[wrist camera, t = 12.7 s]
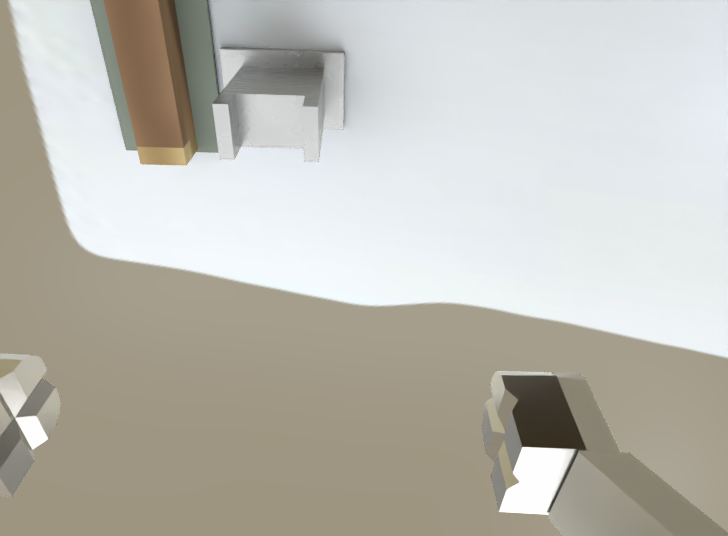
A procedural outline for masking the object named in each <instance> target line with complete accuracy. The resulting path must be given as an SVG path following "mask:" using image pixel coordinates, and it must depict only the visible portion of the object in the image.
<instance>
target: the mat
mask: <svg viewBox="0 0 728 536" xmlns="http://www.w3.org/2000/svg"><path fill="white" fill-rule="evenodd" d="M90 2H91V6H92V10H93V15H94V19H95V23H96V27H97V31H98V35H99V39H100V44H101V48H102V52H103V56H104V60H105V64H106V68H107V73H108V77H109V81H110V85H111V89H112V93H113V97H114V102H115V106H116V110H117V114H118V118H119V122H120V127H121V131H122V135H123V139H124V143H125V147H126V150H137V145H136V141H135V137H134V132H133V128H132V123H131V119H130V115H129V110H128V106H127V101H126V97H125V93H124V88H123V84H122V80H121V75H120V71H119V66H118V62H117V58H116V53H115V49H114V44H113V40H112V36H111V31H110V27H109V22H108V18H107V14H106V9H105V5H104V1H103V0H90ZM175 7H176V13H177V19H178V26H179V32H180V39H181V45H182V51H183V58H184V64H185V70H186V77H187V83H188V90H189V96H190V102H191V109H192V115H193V122H194V128H195V134H196V141H197V147H198V149H197V151H196V152H217V153H219V151H218V144H217V136H216V129H215V121H214V113H213V106H212V103H213V102H214V101H215V99H216V98H217V97H218V96H219V88H218V80H217V72H216V64H215V56H214V48H213V40H212V31H211V23H210V15H209V7H208V0H175Z"/></svg>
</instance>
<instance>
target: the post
mask: <svg viewBox="0 0 728 536" xmlns="http://www.w3.org/2000/svg"><path fill="white" fill-rule="evenodd" d="M219 51H220V60H221V68H222V77H223V85H224V89H223V91H222V92H221V93H220V94H219V96H218V97H217V98H216V99H215V101H214V102H213V103H212V106H213V113H214V121H215V129H216V136H217V144H218V151H219V159H226V160H234V159H235V157H236V155H237V153H238V151H239V149H240V147H278V148H304V161H305V162H319V156H320V148H321V140H322V132H323V129H336V130H343V117H344V52H336V51H307V50H279V49H250V48H220V49H219Z"/></svg>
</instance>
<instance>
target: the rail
mask: <svg viewBox="0 0 728 536" xmlns="http://www.w3.org/2000/svg"><path fill="white" fill-rule="evenodd" d="M103 1H104V5H105V9H106V14H107V18H108V22H109V27H110V31H111V36H112V40H113V44H114V49H115V53H116V58H117V62H118V66H119V71H120V75H121V80H122V84H123V88H124V93H125V97H126V101H127V106H128V110H129V115H130V119H131V123H132V128H133V132H134V137H135V141H136V145H137V150H138V154H139V159H140V163H141V164H154V165H187V164H188V162H189V161H190V160H191V158H192V157H193V155H194V154H195V152H196V151H197V149H198V147H197V141H196V134H195V128H194V122H193V115H192V109H191V102H190V96H189V90H188V83H187V77H186V70H185V64H184V58H183V51H182V45H181V39H180V32H179V26H178V19H177V13H176V7H175V0H103Z"/></svg>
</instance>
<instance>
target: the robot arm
mask: <svg viewBox="0 0 728 536" xmlns="http://www.w3.org/2000/svg"><path fill="white" fill-rule="evenodd" d="M46 372H47V368H46V366H45V365H44V363H43V361H42V359H41V357H38V356H33V355H22V354H21V355H20V354H5V353H0V496H13V494H14V493H15V491H16V490H17V488H18V486H19V485H20V483H21V482H22V480H23V478H24V477H25V475H26V474H27V472H28V470H29V469H30V467H31V466H32V464H33V462H34V456H33V449H34V448H35V447H37V446H38V445H40V444H41V443H43V442H44V441H46V440H47V439H48V438H49V437H50V435H51V433H52V431H53V430H54V428H55V426H56V425H57V421H58V417H59V412H60V408H61V407H60V396H59V394H58V392H57V390H56V387H55V386H53V385H52V384H50V383H49V382H48V381H46V380H45V379H43V377H44V375H45V373H46ZM490 387H491V391H492V395H493V397H491V398H490V399H489V400H487V401H486V402H485V407H484V411H483V419H482V420H483V421H482V433H483V441H484V446H485V451H486V454H487V455H488V456H489V457H490V458H491V459H492V460H493V461H494V462H495V465H494V467H493V471H492V474H491V479H492V483H493V487H494V492H495V496H496V501H497V505H498V509H499V512H514V513H531V514H532V513H533V514H548V518H549V520H550V521H551V522H552V523H553V524H554V526H555V527H556V528H557V529H558V530H559V532H560V533H561V534H562V535H563V536H728V533H727V532H726V531H725V530H724V529H723V528H721V527H720V526H719V525H718V524H717V523H715V522H714V521H713V520H712V519H710V518H709V517H708V516H707V515H705V514H704V513H703V512H702V511H701V510H699V509H698V508H697V507H696V506H694V505H693V504H692V503H691V502H690V501H688V500H687V499H686V498H685V497H684V496H682V495H681V494H680V493H679V492H677V491H676V490H675V489H674V488H672V487H671V486H670V485H669V484H668V483H666V482H665V481H664V480H663V479H662V478H660V477H659V476H658V475H657V474H655V473H654V472H653V471H652V470H650V469H649V468H648V467H647V466H646V465H644V464H643V463H642V462H641V461H640V460H638V459H637V458H636V457H635V456H634V455H632V454H631V453H628V452H621V451H620V449H619V447H618V445H617V443H616V440H615V439H614V436H613V435H612V432H611V430H610V428H609V426H608V424H607V422H606V420H605V418H604V416H603V414H602V411H601V410H600V407H599V405H598V403H597V401H596V399H595V397H594V395H593V393H592V391H591V389H590V387H589V385H588V383H587V381H586V378H585V377H584V376H583V375H582V374H580V373H549V372H516V371H515V372H514V371H496V372H495V374H494V375H493V377H492V381H491V384H490Z"/></svg>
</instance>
